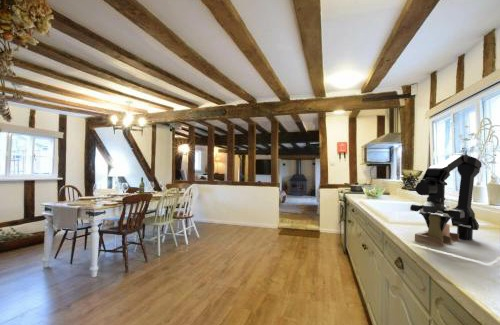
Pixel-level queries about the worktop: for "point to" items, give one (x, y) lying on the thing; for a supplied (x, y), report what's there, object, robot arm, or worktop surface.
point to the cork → (435, 226)
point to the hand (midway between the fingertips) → (435, 229)
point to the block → (446, 230)
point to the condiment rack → (436, 239)
